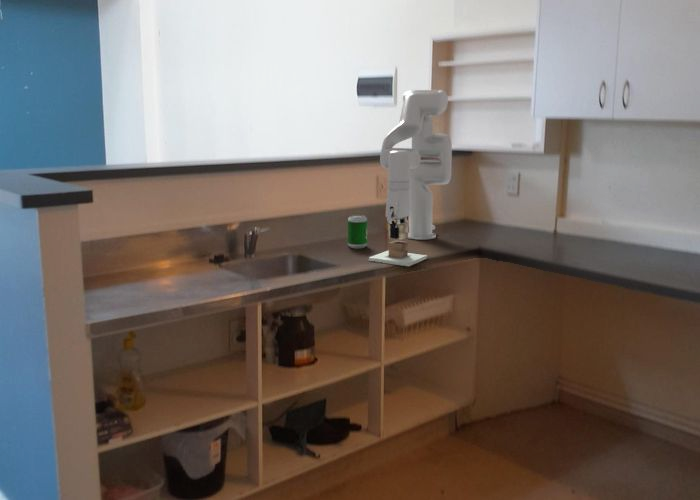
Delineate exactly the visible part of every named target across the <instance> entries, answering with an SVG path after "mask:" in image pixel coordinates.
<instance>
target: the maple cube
mask: <svg viewBox="0 0 700 500" xmlns="http://www.w3.org/2000/svg"><path fill="white" fill-rule="evenodd" d="M389 225H390V224H389V223H388V239H391V240H394V239H393V238H390V226H389ZM398 228H399V238H398V239H397V241H403V240H405V239H409V238H408V233H409V223H407V224H406V223H399V222H398Z"/></svg>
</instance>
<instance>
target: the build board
mask: <svg viewBox="0 0 700 500" xmlns="http://www.w3.org/2000/svg"><path fill="white" fill-rule="evenodd" d="M427 259H428V255H427V254H419V253H417V254H416V253H410V252H408V256H405V257H403V258H396V257H389V249H388V250H385V251H383V252H380V253H377V254H374V255H371V256H369V257H368V261H369V262H374V261H375V263H381V262H382V264H390V265H397V266H403V267H404V266H405V267H411V266H413V265H415V264H418V263H420V262H423V261H425V260H427Z"/></svg>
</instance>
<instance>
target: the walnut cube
mask: <svg viewBox="0 0 700 500" xmlns="http://www.w3.org/2000/svg"><path fill="white" fill-rule="evenodd" d="M408 245H409V242H408V241H406V240H405V241H403V240H397V239H394V240H392V241H390V242H388V250H389V257H396V258H403V257H405V256H408V253H409V252H408V247H409V246H408Z"/></svg>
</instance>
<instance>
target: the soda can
mask: <svg viewBox="0 0 700 500" xmlns="http://www.w3.org/2000/svg"><path fill="white" fill-rule="evenodd" d="M347 246H349V247H350V248H352V249H364V248H365V247H366V246H368V218H367V217H366V216H365V215H363V214H362V215H361V214H355V215H354V214H353V215H350V216H349V217H348V219H347Z"/></svg>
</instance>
